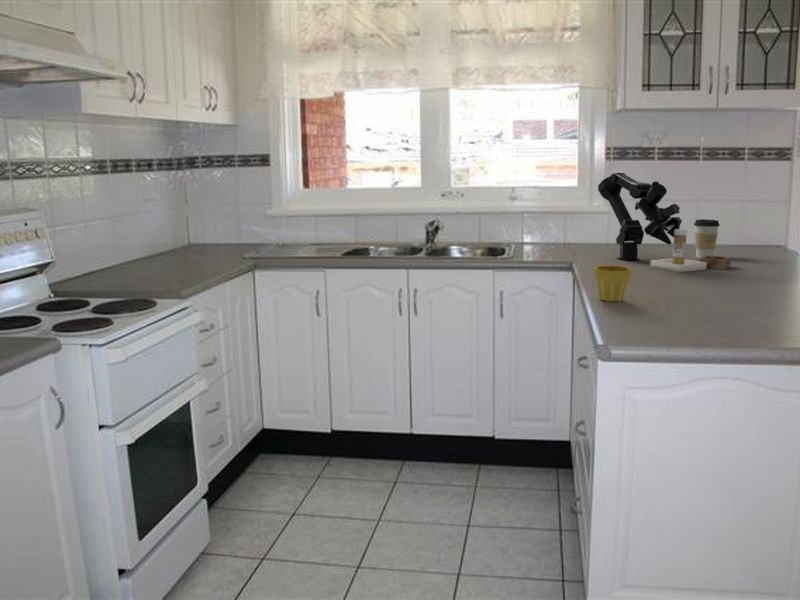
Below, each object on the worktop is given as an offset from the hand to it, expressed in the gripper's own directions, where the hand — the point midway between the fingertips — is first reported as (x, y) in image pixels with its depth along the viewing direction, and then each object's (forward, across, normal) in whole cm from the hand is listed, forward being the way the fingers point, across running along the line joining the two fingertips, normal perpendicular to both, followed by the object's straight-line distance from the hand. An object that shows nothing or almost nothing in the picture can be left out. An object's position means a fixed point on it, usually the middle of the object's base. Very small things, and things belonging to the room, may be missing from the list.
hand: (676, 242), depth 290 cm
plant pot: (+18, -70, -5) cm, 72 cm away
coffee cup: (+4, +34, +10) cm, 35 cm away
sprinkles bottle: (+7, 0, +5) cm, 9 cm away
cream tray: (+8, 0, +6) cm, 10 cm away
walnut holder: (+14, +12, 0) cm, 18 cm away
